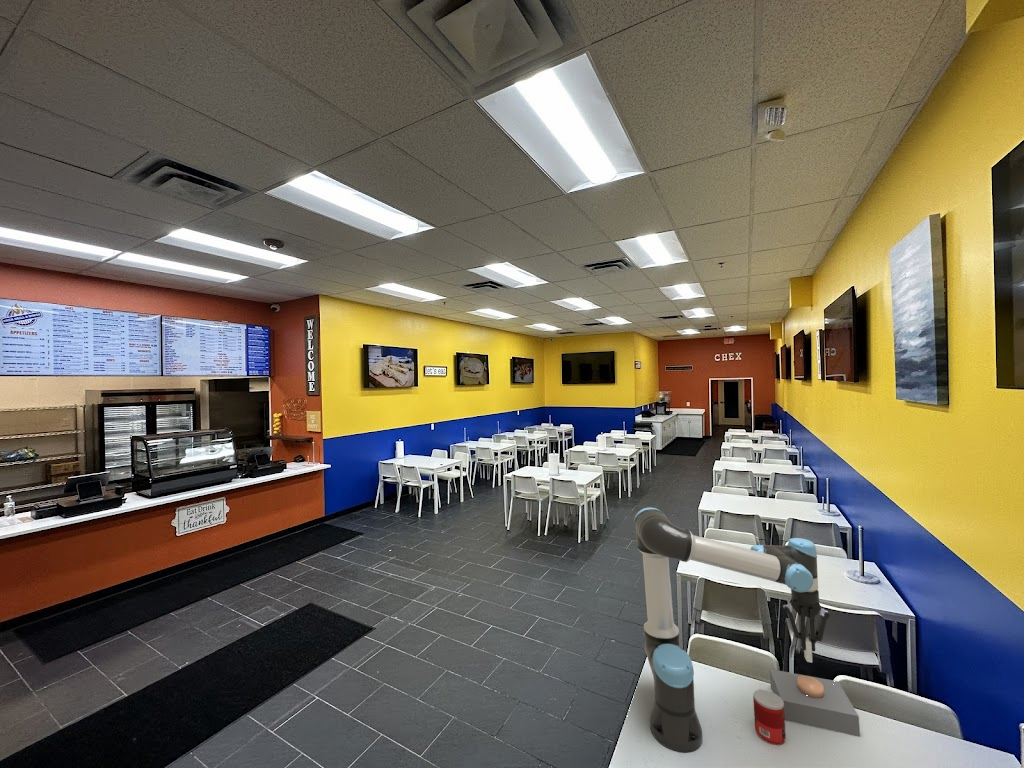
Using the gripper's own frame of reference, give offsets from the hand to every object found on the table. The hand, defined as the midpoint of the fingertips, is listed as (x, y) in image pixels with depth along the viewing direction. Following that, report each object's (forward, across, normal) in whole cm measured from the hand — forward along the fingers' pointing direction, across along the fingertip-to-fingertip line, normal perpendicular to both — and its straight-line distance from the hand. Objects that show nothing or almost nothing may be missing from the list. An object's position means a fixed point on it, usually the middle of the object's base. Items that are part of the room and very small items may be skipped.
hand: (808, 659), depth 134 cm
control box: (+16, 0, 0) cm, 16 cm away
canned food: (+16, -15, -16) cm, 27 cm away
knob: (+15, 0, 0) cm, 15 cm away
